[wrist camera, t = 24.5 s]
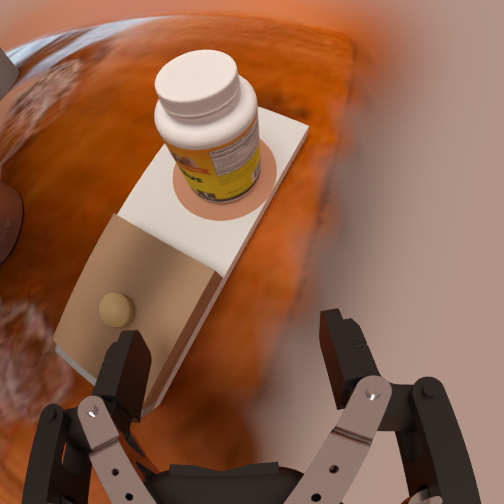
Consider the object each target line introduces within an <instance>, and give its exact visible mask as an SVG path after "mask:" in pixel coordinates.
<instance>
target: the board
mask: <svg viewBox="0 0 504 504" xmlns="http://www.w3.org/2000/svg"><path fill="white" fill-rule="evenodd" d="M258 122H259V138H260V155H261V172H260V176H259V179H258V181H257V183H256V184H255V186H254V187H253V188H252V190H251V191H250V192H248V193H247V194H246V195H245V196H243V197H241V198H239V199H237V200H234V201H231V202H226V203H215V202H210V201H207V200H205V199H203V198H201V197H199V196H198V195H197V194H196V193H195V192H194V191H193V190H192V189H191V187H190V186H189V184H188V183H187V181H186V179H185V177H184V176H183V174H182V172H181V170H180V169H179V167H178V165H177V164H176V162H175V160H174V158H173V157H172V155H171V153H170V152H169V150H168V148H167V146H166V145H165V144H164V145H163V147H162V148H161V149H160V151H159V152H158V153H157V155H156V156H155V158H154V159H153V160H152V162H151V163H150V165H149V166H148V168H147V169H146V171H145V172H144V174H143V175H142V177H141V178H140V180H139V181H138V183H137V184H136V186H135V187H134V189H133V190H132V192H131V193H130V195H129V196H128V198H127V200H126V201H125V203H124V204H123V206H122V208H121V209H120V211H119V213H118V214H117V215H118V216H120V217H121V218H123V219H125V220H126V221H128V222H130V223H132V224H133V225H135V226H137V227H138V228H140V229H142V230H144V231H145V232H147V233H149V234H151V235H152V236H154V237H156V238H158V239H160V240H161V241H163V242H165V243H167V244H168V245H170V246H172V247H174V248H176V249H177V250H179V251H181V252H183V253H185V254H186V255H188V256H190V257H192V258H194V259H195V260H197V261H199V262H201V263H203V264H205V265H206V266H208V267H210V268H212V269H214V270H215V271H216V272H217V273H218V274H220V275H221V276H222V277H223V279H222V281H221V282H220V284H219V286H218V288H217V290H216V291H215V293H214V295H213V297H212V299H211V301H210V302H209V304H208V306H207V308H206V310H205V312H204V313H203V315H202V317H201V319H200V321H199V323H198V325H197V326H196V328H195V330H194V332H193V334H192V336H191V337H190V339H189V341H188V343H187V345H186V347H185V349H184V350H183V352H182V354H181V356H180V358H179V360H178V362H177V364H176V365H175V367H174V369H173V371H172V373H171V375H170V377H169V379H168V380H167V382H166V384H165V386H164V388H163V390H162V392H161V394H160V395H159V397H158V399H157V401H155V402H154V403H152V404H151V405H150V406H148V407H146V408H145V409H143V410H142V413H141V418H142V417H144V416H145V415H146V414H148V413H149V412H151V411H152V410H153V409H155V408H156V407H157V406H159V405H160V403H161V401H162V399H163V397H164V396H165V394H166V392H167V390H168V388H169V386H170V384H171V383H172V381H173V379H174V377H175V375H176V373H177V371H178V369H179V368H180V366H181V364H182V362H183V360H184V358H185V356H186V355H187V353H188V351H189V349H190V347H191V345H192V344H193V342H194V340H195V338H196V336H197V334H198V332H199V331H200V329H201V327H202V325H203V323H204V321H205V320H206V318H207V316H208V314H209V312H210V310H211V309H212V307H213V305H214V303H215V301H216V299H217V298H218V296H219V294H220V292H221V290H222V288H223V287H224V285H225V283H226V281H227V279H228V277H229V276H230V274H231V272H232V270H233V268H234V267H235V265H236V263H237V261H238V259H239V257H240V256H241V254H242V252H243V250H244V248H245V247H246V245H247V243H248V241H249V239H250V238H251V236H252V234H253V232H254V230H255V228H256V227H257V225H258V223H259V221H260V219H261V218H262V216H263V214H264V212H265V210H266V209H267V207H268V205H269V203H270V201H271V200H272V198H273V196H274V194H275V193H276V191H277V189H278V187H279V185H280V184H281V182H282V180H283V178H284V176H285V175H286V173H287V171H288V169H289V167H290V166H291V164H292V162H293V160H294V159H295V157H296V155H297V153H298V151H299V150H300V148H301V146H302V144H303V143H304V141H305V139H306V137H307V134H308V129H309V126H307V125H305V124H303V123H300V122H298V121H295V120H293V119H290V118H288V117H285V116H282V115H280V114H277V113H274V112H272V111H269V110H266V109H263V108H261V107H258ZM55 351H56V352H57V353H58V354H59V355H60V356H61V357H62V358H63V359H64V360H65V361H66V362H67V363H69V364H70V365H71V366H72V367H73V368H74V369H75V370H76V371H77V372H78V373H80V374H81V375H82V376H83V377H84V378H85V379H87V380H88V381H89V382H90V383H91V384H92V385H94V386H95V384H96V381H97V380H96V379H95V378H94V377H93V376H92V375H90V374H89V373H88V372H87V371H86V370H85V369H83V368H82V367H81V366H80V365H79V364H78V363H77V362H75V361H74V360H73V359H72V358H71V357H70V356H69V355H68V354H67V353H66V352H65V351H63V350H62V349H61V348H60V347H59V346H58V345H57V346H56V349H55ZM141 418H140V419H141Z"/></svg>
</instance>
